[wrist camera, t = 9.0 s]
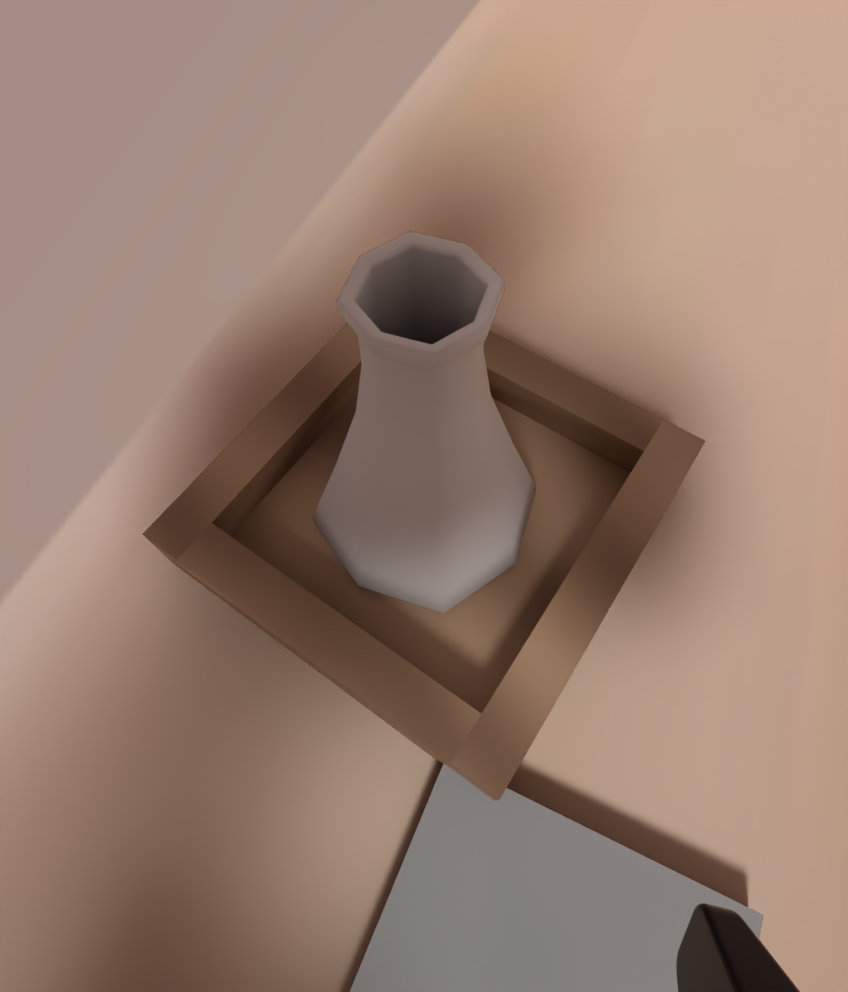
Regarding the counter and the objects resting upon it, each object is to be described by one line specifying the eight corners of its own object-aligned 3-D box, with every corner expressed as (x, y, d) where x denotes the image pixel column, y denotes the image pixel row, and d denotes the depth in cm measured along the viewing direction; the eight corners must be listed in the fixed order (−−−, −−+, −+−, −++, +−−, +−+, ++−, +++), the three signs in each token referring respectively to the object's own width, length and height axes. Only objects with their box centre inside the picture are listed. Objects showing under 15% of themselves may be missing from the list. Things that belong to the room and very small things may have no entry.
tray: (491, 800, 18) (499, 799, 16) (172, 562, 21) (142, 534, 19) (678, 476, 23) (705, 441, 20) (393, 324, 26) (389, 279, 24)
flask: (450, 656, 19) (466, 520, 10) (276, 527, 21) (160, 318, 12) (571, 487, 21) (671, 259, 13) (406, 387, 23) (390, 129, 15)
